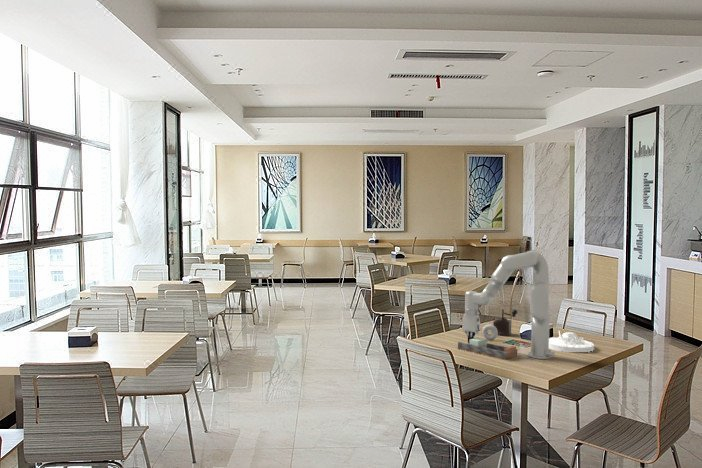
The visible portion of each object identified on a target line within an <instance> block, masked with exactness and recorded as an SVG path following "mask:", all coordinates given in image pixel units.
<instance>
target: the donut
mask: <svg viewBox="0 0 702 468" xmlns="http://www.w3.org/2000/svg"><path fill="white" fill-rule="evenodd" d="M489 330H490V331H491V334H490V333H488V331H489ZM481 334H482V336H483V337H484V339H487V341H488V340H489V341H493V340H495V339H496V338H497V336H499V335H498V330H497V328H496V327H495V326H494V325H493V324H491V323H490V324H489V323H488V324H486V325H485V324H484V326H483V328H481Z"/></svg>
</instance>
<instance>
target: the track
mask: <svg viewBox="0 0 702 468" xmlns="http://www.w3.org/2000/svg"><path fill="white" fill-rule="evenodd" d="M457 349H458V350H460V349H461V351H465V350H466V352H469V351H470V353H473V352H474V354H478V353H479V354H478V355H482V354H483V356H486V355H487V356H488V357H491V358H495V359H500V360H504V361H506V360H510V359H513V358H517V357H518V349H517V346H510V347H507V346H504V345H498V344H494V343H489V342H487V348H485V347H480V346H475V345H471V344H469V343H466V342H461V341H458V342H457Z"/></svg>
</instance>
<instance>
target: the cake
mask: <svg viewBox="0 0 702 468" xmlns="http://www.w3.org/2000/svg"><path fill="white" fill-rule="evenodd" d="M549 349H550V350H552V351H557V352H561V351H563V352H564V353H569V352H588V353H591V352H590V351H592V352H594V351H595V343H593V342H591V341H588V340H586V339H585V340H584V337H582V336H580V337H578V335H577V333H575V332H572V331H566V332H564V333H562V334H561V331H560V330H558V337H554V336H552V337H549ZM593 350H594V351H593Z"/></svg>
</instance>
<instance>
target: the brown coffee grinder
mask: <svg viewBox="0 0 702 468" xmlns="http://www.w3.org/2000/svg"><path fill="white" fill-rule="evenodd" d="M511 313H512V314H510V313H507V312H505V310H504V309H501V316H500V317H499V318H496V319H494V320H493V324H492V325H494V326H495V327H496V328H497V330H498V335H497V336H504V337H510V336H511V335H512V321H513V320H512V319H508V318H506V317H505V316H504V315H506V316H511V317H512V318H513V317H514V318H515V317H516V315H517V314H518V310H517V309H512V310H511Z"/></svg>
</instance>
